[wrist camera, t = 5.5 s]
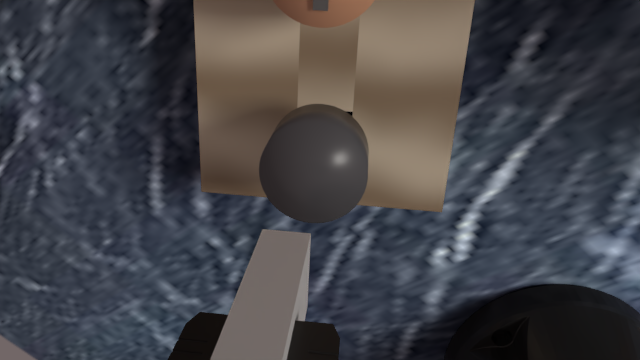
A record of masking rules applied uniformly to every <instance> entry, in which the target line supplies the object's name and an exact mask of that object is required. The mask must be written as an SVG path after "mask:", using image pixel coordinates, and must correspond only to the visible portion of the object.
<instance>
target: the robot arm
mask: <svg viewBox="0 0 640 360" xmlns="http://www.w3.org/2000/svg"><path fill="white" fill-rule="evenodd" d="M310 240H311V234H310V233H299V232H288V231H277V230H266V229H263V230H262V232H261V235H260V237H259V240H258V242H257V244H256V247H255V249H254V252H253V254H252V257H251V259H250V262H249V264H248V267H247V269H246V272H245V274H244V277H243V279H242V282H241V284H240V287H239V289H238V292H237V294H236V297H235V299H234V302H233V304H232V307H231V309H230V312H229V314H228V315H224V314H214V313H204V312H199V313H198V314H197V315H196V316H195V317H193V318H192V319H191V320H190V321H189V322H187V323H186V325H185V327H184V329H183V331H182V333H181V335H180V337H179V340H178V341H177V342H176V344H175V346H174V348H173V352H172V353H171V354H170V356H169V358H168V360H338V355H339V343H340V338H339V335H338V333H337V331H336V329H335V327H334V325H333V324H326V323H316V322H306V321H305V316H306V310H307V301H308V280H309V260H310ZM444 360H640V314H639V313H638V312H637V311H636V310H635V309H634V308H632V307H631V306H630V305H628V304H627V303H625V302H624V301H622V300H620V299H618V298H616V297H614V296H612V295H610V294H607V293H605V292H602V291H599V290H595V289H591V288H587V287H581V286H573V285H546V286H538V287H532V288H527V289H523V290H519V291H516V292H513V293H510V294H507V295H505V296H503V297H500V298H498V299H496V300H494V301H492V302H490V303H489V304H487V305H485V306H484V307H482V308H481V309H479V310H478V311H477V312H475V313H474V314H473V315H472V316H470V317H469V318H468V319H467V320H466V321H465V322H464V323H463V324H462V326H461V327H460V328H459V329H458V330H457V332H456V333H455V335H454V336H453V338H452V340H451V341H450V343H449V345H448V348H447V350H446V353H445V356H444Z"/></svg>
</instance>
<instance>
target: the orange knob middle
mask: <svg viewBox="0 0 640 360" xmlns="http://www.w3.org/2000/svg"><path fill="white" fill-rule="evenodd" d="M273 1H274V3H275V4H276V5H277V7H278V8H279V9H280V10H281V11H282V12H284V13H285V14H286V15H287V16H289V17H290V18H292V19H293V20H295V21H297V22H299V23H302V24H304V25H307V26H311V27H318V28H330V27H336V26H340V25H343V24H346V23H348V22H350V21H352V20H354V19H356V18H357V17H359V16H360V15H361V14H362V13H364V12H365V11H366V10H367V9H368V8H369V7H370V6H371V4H372V3H373V2H374V0H273Z"/></svg>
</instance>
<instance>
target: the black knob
mask: <svg viewBox="0 0 640 360" xmlns="http://www.w3.org/2000/svg"><path fill="white" fill-rule="evenodd" d="M368 156H369V148H368V142H367V138H366V135H365V133H364V131H363V129H362V127H361V126H360V125H359V123H358V122H357V121H356V120H355V119H354V118H353V117H352V116H351V115H350V114H348V113H347V112H345V111H344V110H342V109H340V108H337V107H335V106H331V105H327V104H309V105H305V106H301V107H299V108H296V109H295V110H293V111H291V112H290V113H288V114H287V115H286V116H285V117H284V118H283V119H282V120H281V121H280V122H279V124H278V125H277V127H276V128H275V130H274V132H273V134H272V136H271V137H270V139H269V141H268V143H267V145H266V146H265V148H264V150H263V152H262V155H261V158H260V163H259V177H260V182H261V185H262V188H263V190H264V192H265V194H266V196H267V198H268V199H269V201H270V202H271V203H272V204H273V205H274V206H275V207H276V208H277V209H278V210H279V211H281V212H282V213H284V214H285V215H287V216H289V217H291V218H293V219H296V220H299V221H303V222H308V223H324V222H329V221H333V220H335V219H338V218H340V217H342V216H344V215H346V214H347V213H349V212H350V211H351V210H352V209H353V208H354V207H355V206H356V205H357V204H358V203H359V201H360V200H361V198H362V196H363V194H364V192H365V189H366V186H367V181H368Z"/></svg>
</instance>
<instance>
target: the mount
mask: <svg viewBox="0 0 640 360" xmlns="http://www.w3.org/2000/svg"><path fill="white" fill-rule="evenodd" d="M193 2H194V25H195V49H196V72H197V96H198V119H199V143H200V166H201V190H202V192H212V193H223V194H235V195H247V196H259V197H267V196H266V194H265V192H264V190H263V188H262V185H261V182H260V177H259V163H260V158H261V155H262V152H263V150H264V148H265V146H266V145H267V143H268V141H269V139H270V137H271V136H272V134H273V132H274V130H275V128H276V127H277V125H278V124H279V122H280V121H281V120H282V119H283V118H284V117H285V116H286V115H287V114H288V113H290V112H291V111H293V110H295V109H296V108H299V107H301V106H305V105H309V104H327V105H331V106H335V107H337V108H340V109H342V110H344V111H349V112H353V115H352V117H353V118H354V119H355V120H356V121H357V122H358V123H359V125H360V126H361V127H362V129H363V131H364V133H365V135H366V138H367V142H368V148H369V156H368V181H367V186H366V189H365V192H364V194H363V196H362V198H361V200H360V201H359V203H358V204H357V205H365V206H377V207H389V208H400V209H412V210H424V211H436V212H442V208H443V202H444V196H445V189H446V183H447V176H448V170H449V163H450V157H451V150H452V144H453V138H454V131H455V125H456V118H457V112H458V105H459V99H460V92H461V86H462V80H463V73H464V67H465V60H466V54H467V47H468V41H469V34H470V28H471V22H472V15H473V9H474V2H475V0H374V2H373V3H372V4H371V6H370V7H369V8H368V9H367V10H366V11H365V12H364V13H362V14H361V15H360V16H359V17H357V18H356V19H354V20H352V21H350V22H348V23H346V24H343V25H340V26H336V27H330V28H318V27H311V26H307V25H304V24H302V23H299V22H297V21H295V20H293V19H292V18H290V17H289V16H287V15H286V14H285V13H284V12H282V11H281V10H280V9H279V8H278V7H277V5H276V4H275V3H274V1H273V0H193Z"/></svg>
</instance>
